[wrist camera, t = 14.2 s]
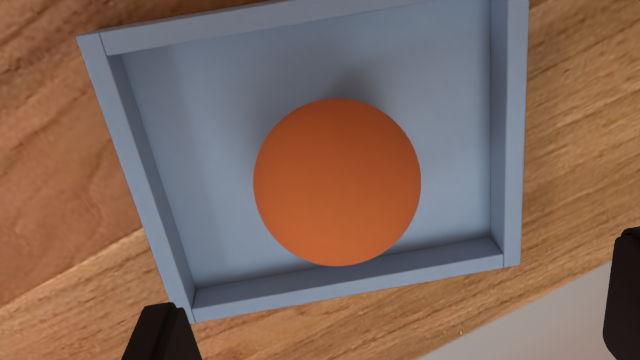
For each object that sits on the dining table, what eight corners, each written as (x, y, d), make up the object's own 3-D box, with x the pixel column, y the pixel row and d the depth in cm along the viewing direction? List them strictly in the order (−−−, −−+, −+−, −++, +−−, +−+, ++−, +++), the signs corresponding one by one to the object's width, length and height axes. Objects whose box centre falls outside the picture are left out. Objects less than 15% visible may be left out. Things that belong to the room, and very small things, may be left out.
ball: (386, 71, 19) (442, 105, 13) (400, 204, 21) (452, 280, 16) (238, 99, 18) (232, 145, 13) (269, 231, 21) (274, 318, 15)
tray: (506, -40, 18) (531, -41, 16) (502, 243, 23) (521, 265, 21) (94, 29, 17) (74, 35, 16) (185, 299, 23) (178, 326, 21)
